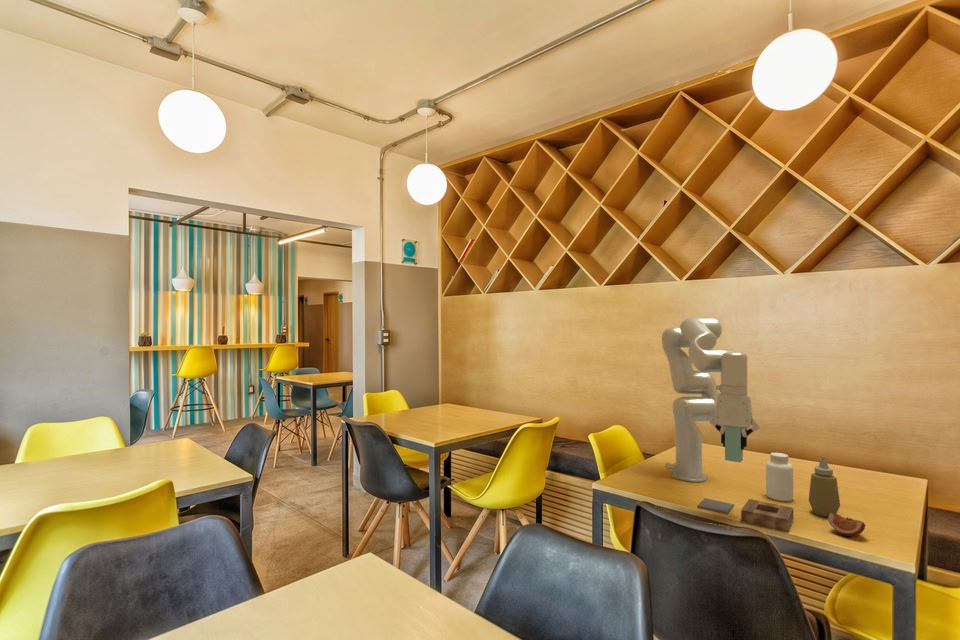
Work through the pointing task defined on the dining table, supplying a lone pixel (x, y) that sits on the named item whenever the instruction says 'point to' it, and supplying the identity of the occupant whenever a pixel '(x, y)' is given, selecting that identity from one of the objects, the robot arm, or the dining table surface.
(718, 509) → the rubber mat
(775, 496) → the pill bottle
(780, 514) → the pocket base
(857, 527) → the fruit slice
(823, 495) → the squeeze bottle
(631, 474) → the dining table surface
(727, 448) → the teal block
